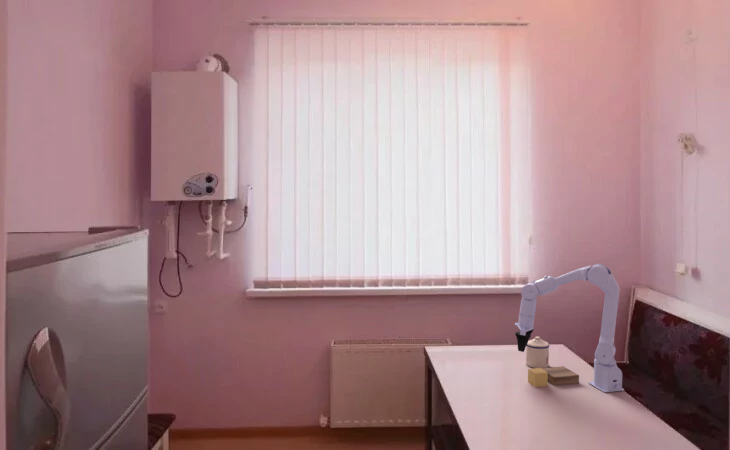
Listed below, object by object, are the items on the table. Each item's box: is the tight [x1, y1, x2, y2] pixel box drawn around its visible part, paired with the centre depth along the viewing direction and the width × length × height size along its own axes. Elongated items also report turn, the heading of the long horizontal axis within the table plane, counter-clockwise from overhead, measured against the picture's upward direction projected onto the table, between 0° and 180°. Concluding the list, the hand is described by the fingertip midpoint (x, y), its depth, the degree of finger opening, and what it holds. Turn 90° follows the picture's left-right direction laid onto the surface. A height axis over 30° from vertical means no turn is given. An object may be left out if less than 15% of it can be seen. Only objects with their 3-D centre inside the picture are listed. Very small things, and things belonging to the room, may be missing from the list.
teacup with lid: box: [525, 336, 550, 369], centre depth 218 cm, size 12×9×12 cm
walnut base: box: [541, 366, 580, 386], centre depth 200 cm, size 10×10×3 cm
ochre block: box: [527, 368, 548, 388], centre depth 196 cm, size 5×5×5 cm
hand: (522, 348), depth 207 cm, fingers open, 7 cm apart
